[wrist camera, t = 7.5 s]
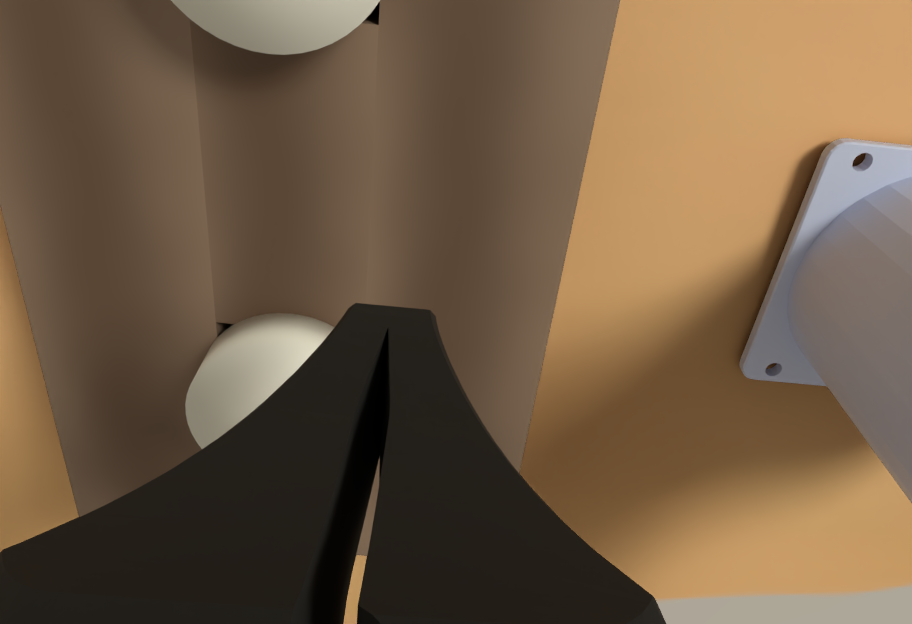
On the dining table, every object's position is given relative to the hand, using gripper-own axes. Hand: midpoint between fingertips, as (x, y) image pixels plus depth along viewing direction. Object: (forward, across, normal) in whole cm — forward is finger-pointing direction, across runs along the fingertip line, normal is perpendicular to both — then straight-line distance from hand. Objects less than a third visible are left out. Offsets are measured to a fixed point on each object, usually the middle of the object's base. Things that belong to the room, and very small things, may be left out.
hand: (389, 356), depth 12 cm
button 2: (+9, +3, +6) cm, 11 cm away
